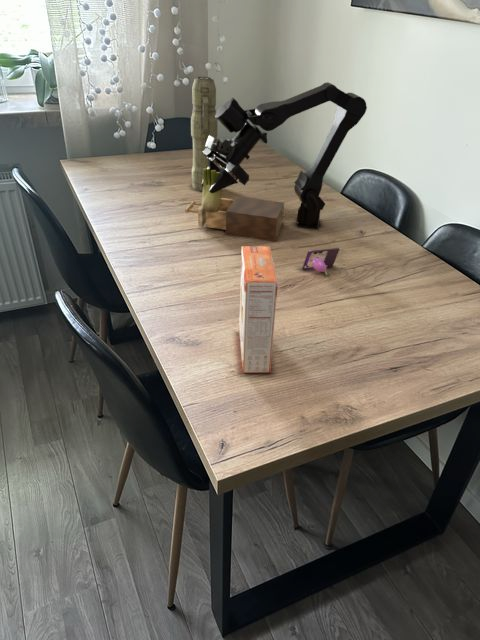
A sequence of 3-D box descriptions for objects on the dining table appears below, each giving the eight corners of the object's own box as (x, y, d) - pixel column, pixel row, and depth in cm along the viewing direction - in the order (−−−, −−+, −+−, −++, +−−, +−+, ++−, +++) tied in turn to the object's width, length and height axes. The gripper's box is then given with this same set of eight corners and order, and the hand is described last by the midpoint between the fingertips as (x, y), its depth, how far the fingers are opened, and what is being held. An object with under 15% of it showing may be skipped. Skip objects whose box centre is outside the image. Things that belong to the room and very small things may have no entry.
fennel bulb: (223, 213, 146) (223, 171, 138) (207, 216, 143) (207, 173, 136) (214, 206, 149) (213, 165, 142) (198, 209, 147) (197, 167, 140)
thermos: (195, 193, 175) (194, 81, 154) (189, 182, 184) (186, 74, 163) (220, 192, 178) (222, 81, 157) (213, 181, 187) (213, 74, 166)
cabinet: (225, 234, 151) (226, 211, 146) (235, 217, 161) (236, 196, 157) (275, 241, 149) (277, 218, 145) (282, 224, 159) (284, 202, 155)
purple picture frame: (338, 245, 133) (306, 248, 130) (345, 260, 131) (313, 263, 128) (331, 263, 139) (300, 266, 136) (337, 277, 136) (307, 281, 133)
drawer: (182, 224, 152) (182, 207, 149) (194, 210, 162) (194, 193, 158) (244, 233, 150) (245, 215, 147) (252, 218, 159) (253, 201, 156)
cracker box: (237, 333, 110) (240, 244, 97) (264, 333, 111) (271, 245, 98) (240, 374, 99) (244, 280, 86) (270, 374, 99) (279, 280, 87)
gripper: (208, 116, 140) (173, 161, 142) (240, 133, 128) (201, 182, 130) (233, 143, 149) (199, 185, 151) (265, 161, 136) (228, 207, 138)
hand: (206, 189), depth 142 cm, fingers closed on fennel bulb, 5 cm apart
